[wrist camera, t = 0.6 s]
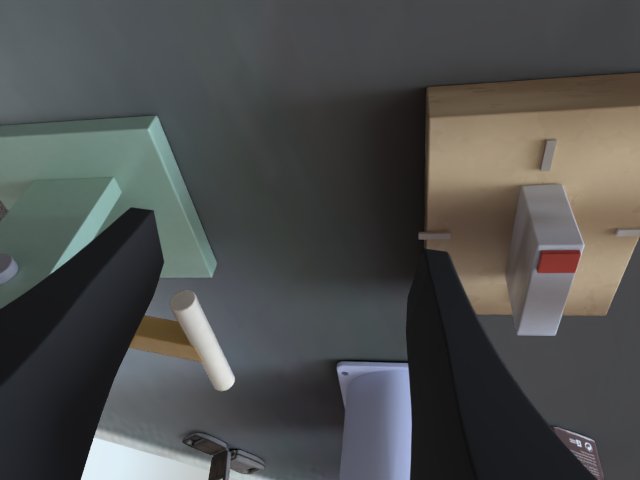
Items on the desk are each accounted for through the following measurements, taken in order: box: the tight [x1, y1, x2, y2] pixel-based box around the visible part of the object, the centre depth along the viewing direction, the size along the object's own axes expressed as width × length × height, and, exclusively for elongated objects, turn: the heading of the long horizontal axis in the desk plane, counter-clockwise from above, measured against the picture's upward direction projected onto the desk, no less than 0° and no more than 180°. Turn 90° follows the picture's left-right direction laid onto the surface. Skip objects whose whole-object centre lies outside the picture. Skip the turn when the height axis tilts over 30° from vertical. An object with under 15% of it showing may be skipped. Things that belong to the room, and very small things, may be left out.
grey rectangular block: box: [505, 184, 585, 336], centre depth 21 cm, size 6×2×4 cm, turn 8°
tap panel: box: [419, 73, 640, 316], centre depth 23 cm, size 12×10×3 cm
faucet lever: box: [129, 290, 235, 391], centre depth 21 cm, size 10×6×2 cm, turn 99°
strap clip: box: [182, 433, 265, 480], centre depth 48 cm, size 8×3×4 cm, turn 48°
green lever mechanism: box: [0, 116, 217, 309], centre depth 24 cm, size 10×10×9 cm
